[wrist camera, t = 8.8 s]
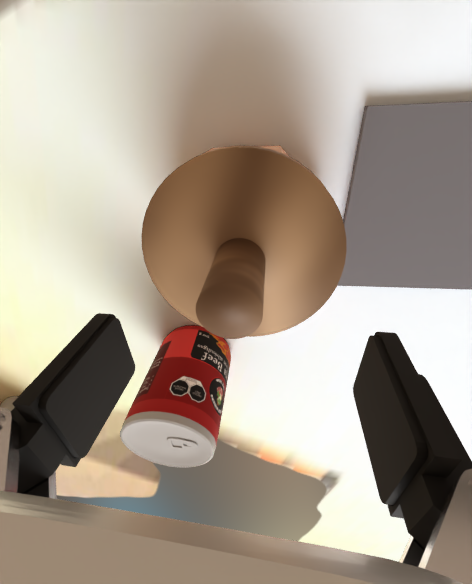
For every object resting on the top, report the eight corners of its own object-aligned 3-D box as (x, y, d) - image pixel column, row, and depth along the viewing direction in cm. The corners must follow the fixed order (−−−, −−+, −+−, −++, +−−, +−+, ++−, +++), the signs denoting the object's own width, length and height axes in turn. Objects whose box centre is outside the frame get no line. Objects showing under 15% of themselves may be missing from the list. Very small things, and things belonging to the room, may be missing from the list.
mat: (601, 95, 15) (612, 95, 15) (490, 286, 23) (495, 289, 22) (365, 106, 17) (367, 106, 16) (331, 281, 24) (332, 285, 24)
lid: (362, 141, 13) (421, 160, 8) (325, 329, 20) (344, 405, 14) (127, 148, 14) (46, 168, 9) (167, 321, 21) (133, 389, 16)
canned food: (240, 366, 32) (227, 467, 23) (181, 374, 34) (147, 469, 25) (218, 317, 28) (191, 415, 19) (152, 329, 30) (100, 423, 21)
